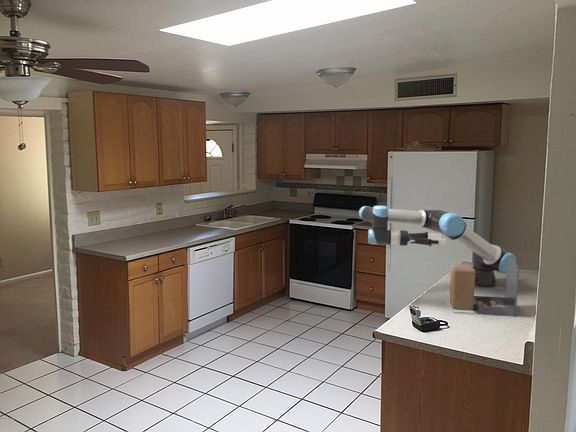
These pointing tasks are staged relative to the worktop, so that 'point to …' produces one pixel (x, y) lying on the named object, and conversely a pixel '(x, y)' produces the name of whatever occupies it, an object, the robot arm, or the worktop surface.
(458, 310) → the mat
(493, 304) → the upper offcut
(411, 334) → the worktop surface
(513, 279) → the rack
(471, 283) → the wooden block
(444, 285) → the worktop surface
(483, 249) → the robot arm
